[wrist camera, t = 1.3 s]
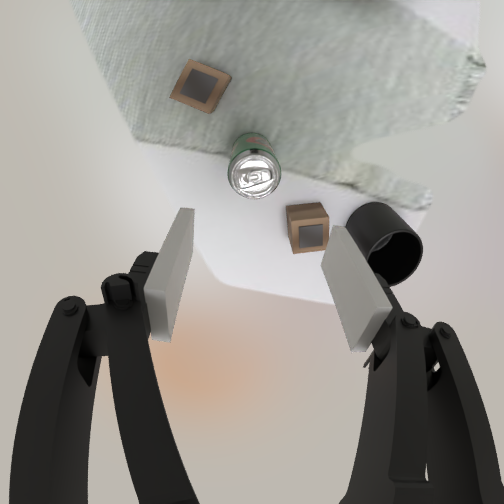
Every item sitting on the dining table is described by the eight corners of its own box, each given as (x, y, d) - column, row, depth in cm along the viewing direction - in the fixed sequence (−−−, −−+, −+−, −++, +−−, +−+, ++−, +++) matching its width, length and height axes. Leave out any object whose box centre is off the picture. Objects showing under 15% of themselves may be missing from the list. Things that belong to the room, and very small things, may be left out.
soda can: (228, 136, 34) (221, 156, 23) (267, 129, 33) (278, 146, 23) (236, 171, 36) (233, 207, 26) (273, 165, 36) (285, 198, 26)
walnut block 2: (286, 205, 39) (291, 221, 35) (320, 202, 39) (329, 217, 35) (288, 235, 42) (293, 254, 38) (320, 232, 42) (329, 250, 37)
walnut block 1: (196, 63, 28) (188, 58, 24) (231, 78, 29) (229, 75, 25) (179, 96, 30) (168, 97, 26) (213, 111, 32) (208, 114, 27)
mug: (348, 271, 46) (365, 307, 38) (340, 209, 40) (362, 240, 32) (396, 257, 45) (419, 289, 37) (395, 195, 38) (425, 222, 31)
